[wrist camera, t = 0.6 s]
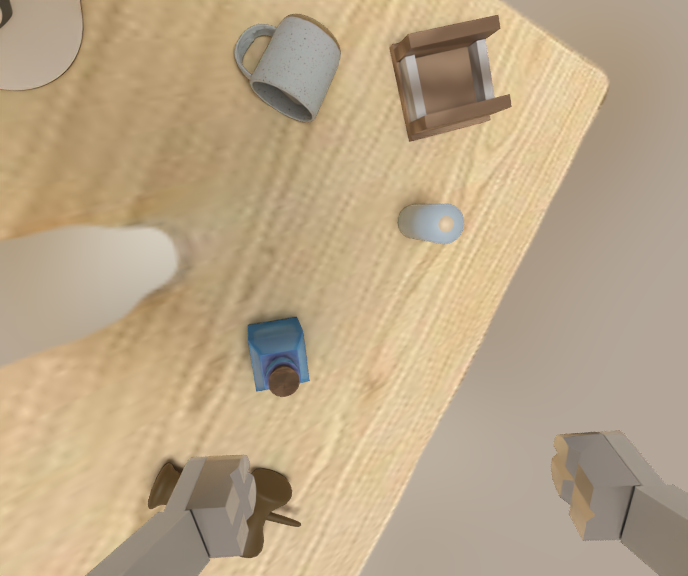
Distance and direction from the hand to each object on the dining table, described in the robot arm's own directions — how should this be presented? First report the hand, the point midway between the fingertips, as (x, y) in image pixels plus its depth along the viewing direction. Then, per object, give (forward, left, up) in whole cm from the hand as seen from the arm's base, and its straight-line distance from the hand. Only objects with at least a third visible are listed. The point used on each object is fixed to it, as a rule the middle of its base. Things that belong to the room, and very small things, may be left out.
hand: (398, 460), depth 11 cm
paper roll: (+6, +17, -41) cm, 45 cm away
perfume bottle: (+8, -7, -41) cm, 43 cm away
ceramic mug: (-17, +13, -41) cm, 47 cm away
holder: (-6, +29, -41) cm, 51 cm away
